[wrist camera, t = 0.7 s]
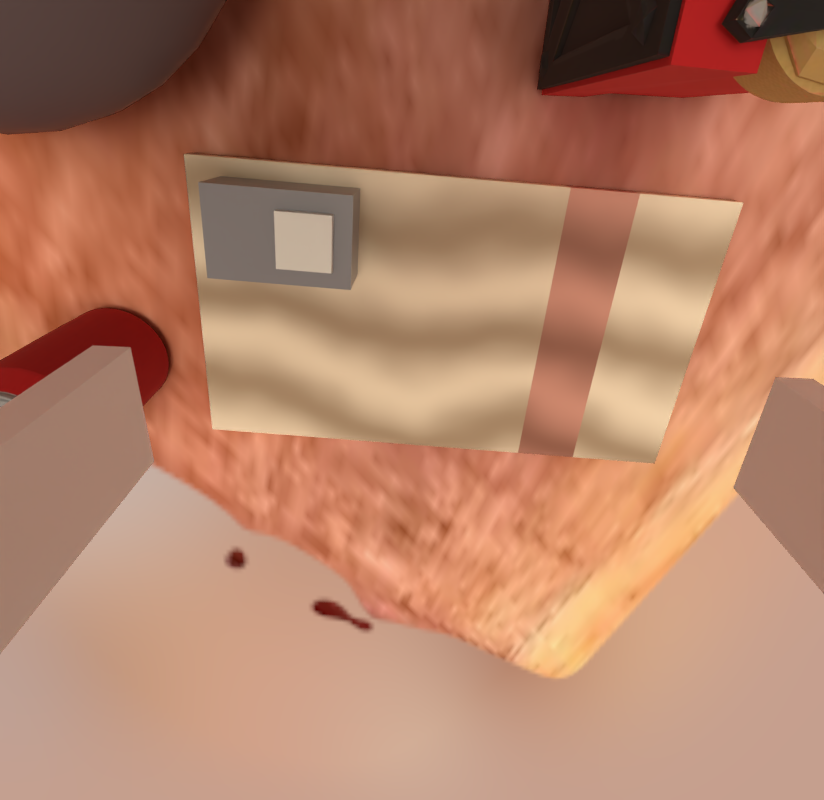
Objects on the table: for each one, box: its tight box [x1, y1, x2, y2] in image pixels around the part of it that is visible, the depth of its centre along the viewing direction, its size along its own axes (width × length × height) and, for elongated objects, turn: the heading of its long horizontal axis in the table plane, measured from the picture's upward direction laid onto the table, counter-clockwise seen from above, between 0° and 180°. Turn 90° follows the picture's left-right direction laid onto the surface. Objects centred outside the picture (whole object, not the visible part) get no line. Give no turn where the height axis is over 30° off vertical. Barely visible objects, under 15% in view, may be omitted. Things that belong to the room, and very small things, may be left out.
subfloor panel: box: [184, 153, 743, 463], centre depth 35 cm, size 18×32×1 cm, turn 85°
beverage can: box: [0, 308, 169, 407], centre depth 32 cm, size 7×7×12 cm
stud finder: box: [198, 176, 360, 290], centre depth 30 cm, size 5×8×4 cm, turn 85°
